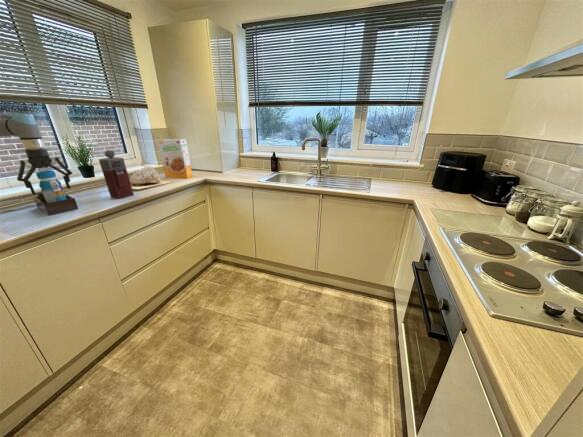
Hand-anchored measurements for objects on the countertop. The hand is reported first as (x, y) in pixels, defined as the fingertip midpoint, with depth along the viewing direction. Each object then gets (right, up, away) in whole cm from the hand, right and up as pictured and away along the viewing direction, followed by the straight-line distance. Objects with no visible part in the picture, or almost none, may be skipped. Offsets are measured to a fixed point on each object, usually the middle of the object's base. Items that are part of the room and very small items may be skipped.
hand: (52, 191), depth 123 cm
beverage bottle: (+1, -9, +4) cm, 10 cm away
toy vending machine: (+19, 0, +26) cm, 32 cm away
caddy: (-4, -9, +7) cm, 12 cm away
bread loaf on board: (+17, +10, +52) cm, 56 cm away
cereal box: (+30, +20, +76) cm, 84 cm away
